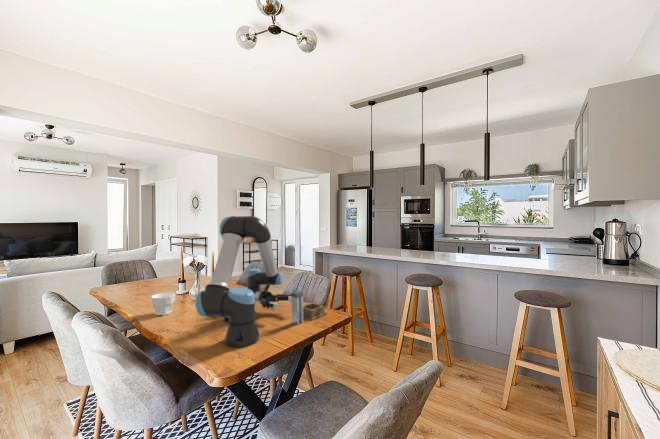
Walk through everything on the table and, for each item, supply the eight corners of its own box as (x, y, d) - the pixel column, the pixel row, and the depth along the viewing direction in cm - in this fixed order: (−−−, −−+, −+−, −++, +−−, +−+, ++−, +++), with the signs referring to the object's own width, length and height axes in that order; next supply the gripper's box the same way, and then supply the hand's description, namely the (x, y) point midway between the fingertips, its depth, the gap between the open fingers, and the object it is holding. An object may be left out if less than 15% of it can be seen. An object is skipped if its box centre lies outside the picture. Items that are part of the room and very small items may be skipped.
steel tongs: (297, 324, 153) (296, 294, 153) (290, 322, 157) (289, 292, 157) (303, 322, 157) (303, 292, 156) (296, 320, 160) (295, 290, 160)
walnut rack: (312, 320, 159) (312, 311, 159) (297, 315, 167) (297, 307, 167) (326, 314, 168) (326, 305, 168) (311, 310, 176) (311, 302, 176)
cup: (180, 311, 177) (179, 293, 177) (160, 318, 166) (160, 299, 165) (166, 309, 182) (166, 291, 182) (146, 315, 171) (146, 296, 171)
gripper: (279, 298, 185) (303, 304, 172) (245, 308, 166) (269, 316, 153) (279, 286, 185) (303, 292, 172) (245, 295, 166) (268, 302, 153)
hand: (287, 303), depth 162 cm, fingers open, 13 cm apart
